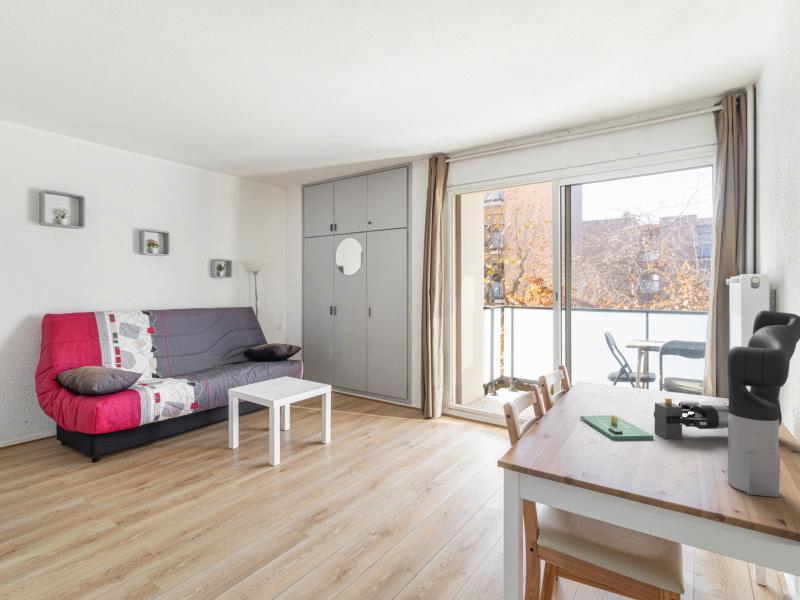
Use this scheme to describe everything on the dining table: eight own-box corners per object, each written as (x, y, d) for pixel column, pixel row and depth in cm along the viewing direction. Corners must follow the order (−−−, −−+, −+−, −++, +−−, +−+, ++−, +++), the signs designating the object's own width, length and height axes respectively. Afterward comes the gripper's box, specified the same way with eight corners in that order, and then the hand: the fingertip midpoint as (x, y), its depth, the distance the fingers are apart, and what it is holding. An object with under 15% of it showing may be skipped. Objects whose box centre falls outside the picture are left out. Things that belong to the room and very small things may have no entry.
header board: (653, 439, 133) (653, 426, 133) (613, 440, 133) (613, 426, 132) (615, 418, 155) (615, 407, 155) (580, 419, 155) (580, 407, 154)
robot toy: (675, 414, 164) (723, 420, 153) (674, 403, 164) (722, 407, 153) (682, 408, 172) (728, 413, 162) (681, 397, 172) (727, 401, 162)
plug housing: (682, 438, 134) (682, 400, 134) (665, 438, 134) (665, 401, 134) (670, 432, 139) (670, 396, 139) (654, 433, 139) (654, 396, 139)
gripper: (695, 399, 144) (646, 400, 143) (729, 411, 130) (675, 412, 129) (694, 421, 144) (646, 422, 144) (729, 435, 130) (675, 436, 129)
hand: (660, 417), depth 136 cm, fingers closed on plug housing, 5 cm apart
